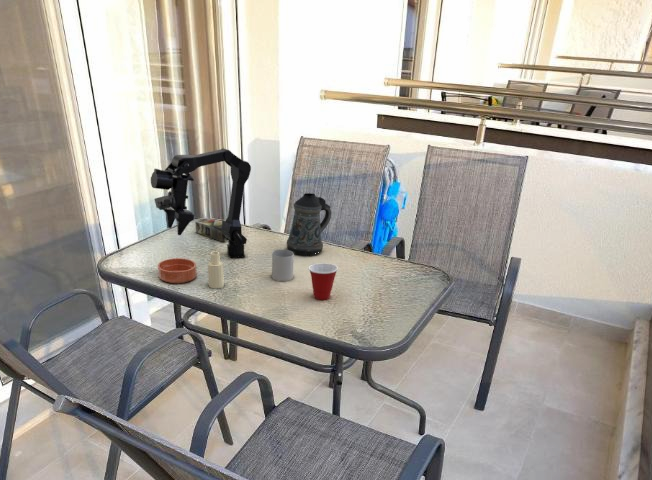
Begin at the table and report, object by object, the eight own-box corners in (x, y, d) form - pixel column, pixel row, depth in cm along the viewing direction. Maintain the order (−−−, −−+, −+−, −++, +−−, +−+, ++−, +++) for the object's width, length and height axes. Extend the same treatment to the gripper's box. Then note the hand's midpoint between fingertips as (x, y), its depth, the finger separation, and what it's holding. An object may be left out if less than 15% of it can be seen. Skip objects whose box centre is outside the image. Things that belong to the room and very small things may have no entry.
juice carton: (193, 232, 242) (192, 219, 239) (208, 228, 249) (207, 215, 246) (222, 243, 233) (222, 230, 229) (237, 238, 240) (237, 225, 236)
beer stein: (279, 250, 228) (280, 194, 215) (304, 240, 242) (306, 186, 229) (308, 259, 221) (312, 201, 208) (333, 248, 235) (337, 193, 222)
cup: (296, 275, 205) (297, 252, 199) (287, 282, 198) (287, 258, 193) (278, 271, 207) (278, 248, 202) (268, 278, 201) (268, 254, 196)
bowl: (193, 268, 204) (193, 257, 202) (199, 282, 193) (198, 270, 191) (157, 271, 200) (156, 259, 197) (160, 285, 189) (159, 273, 186)
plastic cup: (321, 288, 195) (323, 259, 189) (341, 298, 189) (344, 267, 183) (300, 295, 189) (302, 265, 182) (321, 305, 182) (323, 274, 176)
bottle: (222, 282, 195) (221, 249, 188) (225, 287, 191) (223, 255, 184) (207, 283, 193) (205, 250, 186) (210, 289, 189) (208, 256, 182)
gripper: (149, 182, 192) (145, 222, 199) (168, 195, 180) (163, 237, 187) (176, 185, 199) (172, 224, 206) (197, 198, 187) (191, 239, 194)
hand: (174, 231), depth 198 cm, fingers open, 9 cm apart
